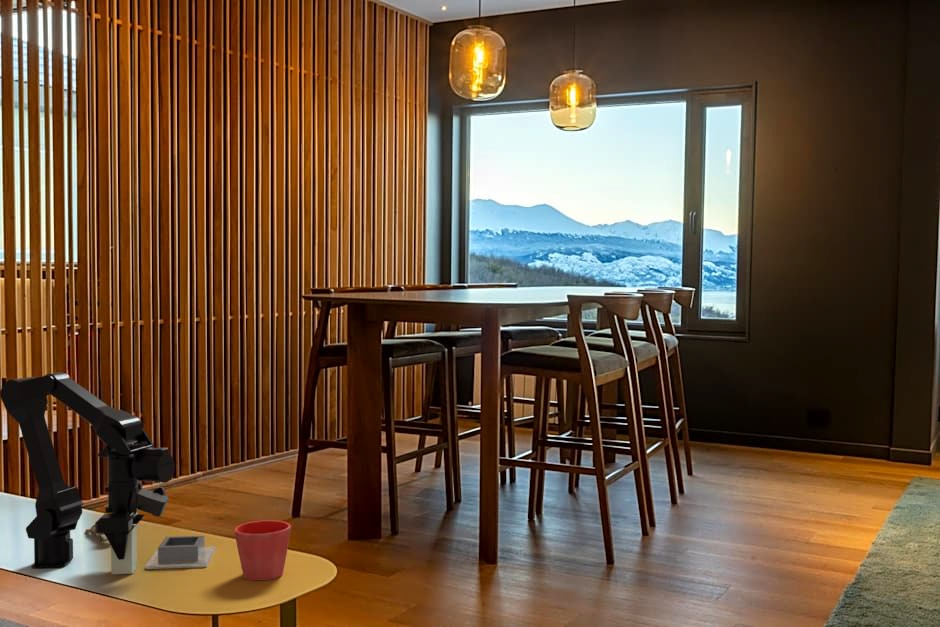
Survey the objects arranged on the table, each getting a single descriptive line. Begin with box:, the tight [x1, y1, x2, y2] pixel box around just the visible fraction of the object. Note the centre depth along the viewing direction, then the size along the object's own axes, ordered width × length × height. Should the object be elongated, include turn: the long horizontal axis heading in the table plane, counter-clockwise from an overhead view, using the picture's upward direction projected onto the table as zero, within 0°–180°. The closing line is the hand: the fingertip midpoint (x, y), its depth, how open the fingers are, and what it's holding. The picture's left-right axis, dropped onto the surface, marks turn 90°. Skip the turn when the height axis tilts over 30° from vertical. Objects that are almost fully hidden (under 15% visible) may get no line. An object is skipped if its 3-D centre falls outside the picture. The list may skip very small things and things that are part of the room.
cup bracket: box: [145, 535, 217, 570], centre depth 195 cm, size 12×12×4 cm
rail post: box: [110, 524, 138, 575], centre depth 187 cm, size 4×4×9 cm
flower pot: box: [234, 519, 292, 581], centre depth 185 cm, size 11×11×10 cm
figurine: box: [84, 524, 105, 542], centre depth 211 cm, size 4×4×15 cm
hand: (124, 556), depth 187 cm, fingers closed on rail post, 4 cm apart
